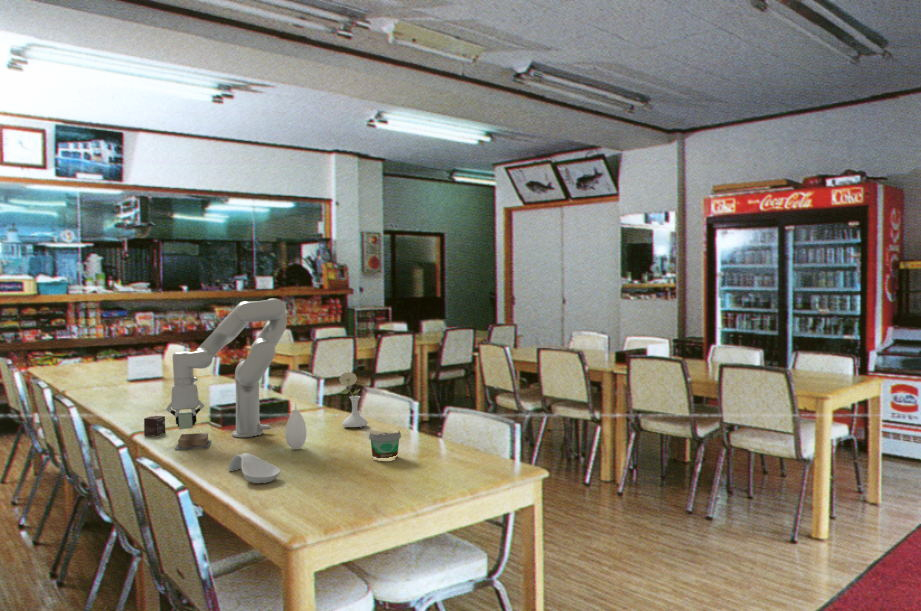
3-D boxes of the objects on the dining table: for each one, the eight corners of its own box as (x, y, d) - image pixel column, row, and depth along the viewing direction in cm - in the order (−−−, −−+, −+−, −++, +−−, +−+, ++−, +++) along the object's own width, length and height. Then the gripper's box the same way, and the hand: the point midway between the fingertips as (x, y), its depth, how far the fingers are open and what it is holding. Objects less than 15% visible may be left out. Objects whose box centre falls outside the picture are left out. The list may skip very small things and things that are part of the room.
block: (193, 425, 272) (193, 411, 272) (192, 428, 267) (191, 413, 267) (180, 426, 270) (180, 412, 270) (179, 429, 266) (178, 414, 265)
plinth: (211, 440, 267) (210, 432, 267) (208, 448, 255) (208, 439, 255) (179, 442, 263) (179, 433, 263) (175, 450, 252) (175, 441, 252)
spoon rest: (287, 481, 215) (287, 460, 215) (255, 490, 206) (255, 467, 206) (248, 467, 231) (248, 447, 230) (217, 474, 222) (217, 454, 222)
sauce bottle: (281, 450, 252) (281, 404, 252) (293, 445, 260) (293, 401, 259) (298, 452, 250) (298, 406, 249) (310, 447, 257) (310, 402, 256)
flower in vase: (370, 424, 299) (370, 370, 298) (364, 430, 287) (364, 374, 286) (342, 423, 300) (342, 369, 299) (335, 429, 289) (335, 373, 288)
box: (156, 436, 274) (156, 419, 274) (143, 435, 275) (143, 418, 275) (165, 433, 280) (165, 416, 280) (153, 432, 281) (153, 415, 281)
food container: (374, 464, 235) (374, 436, 235) (368, 460, 240) (368, 433, 240) (406, 460, 241) (406, 433, 240) (399, 456, 246) (400, 429, 246)
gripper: (206, 378, 274) (209, 421, 275) (162, 381, 269) (165, 425, 270) (205, 381, 266) (207, 425, 267) (159, 384, 262) (162, 429, 263)
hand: (186, 424), depth 269 cm, fingers closed on block, 5 cm apart
